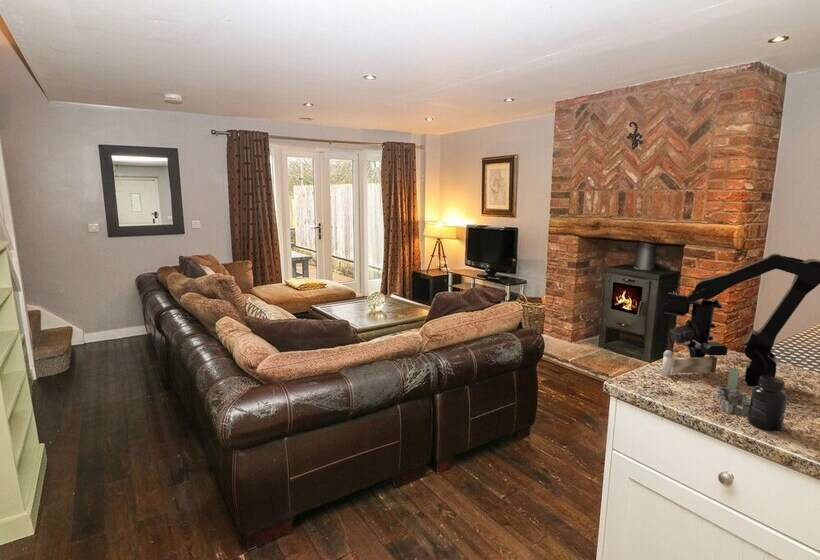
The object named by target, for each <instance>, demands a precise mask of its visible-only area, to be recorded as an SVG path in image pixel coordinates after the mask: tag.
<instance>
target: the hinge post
mask: <svg viewBox="0 0 820 560" xmlns="http://www.w3.org/2000/svg"><path fill="white" fill-rule="evenodd" d="M672 358H674V352H673V351H672V350H669V349H668V350H667V349H666V350H665V351H664V352H663V359H662V366H661V376H665V377H670V376H671V374H672V373H671V365H672Z"/></svg>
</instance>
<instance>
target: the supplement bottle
mask: <svg viewBox="0 0 820 560" xmlns="http://www.w3.org/2000/svg"><path fill="white" fill-rule="evenodd" d="M785 383H786V382H785V380H783V379H782V378H779V377H776V376H775V377H772V376H760V378H759V382H758V384H759V386H756V387H755V386H753V388H752V391H751V396H750V398H751V401H750V407H749V414H748V416H747V422H748V424H750V425H751V426H753V427H755V428H757V429H760V430H763V431H767V432H768V431H769V432H779V431H781V430H782V429H783V425H784V419H785V416H786V415H785V414H786V409H787V404H788V395H787V393H786V392H785V391H783V390H785Z"/></svg>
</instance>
